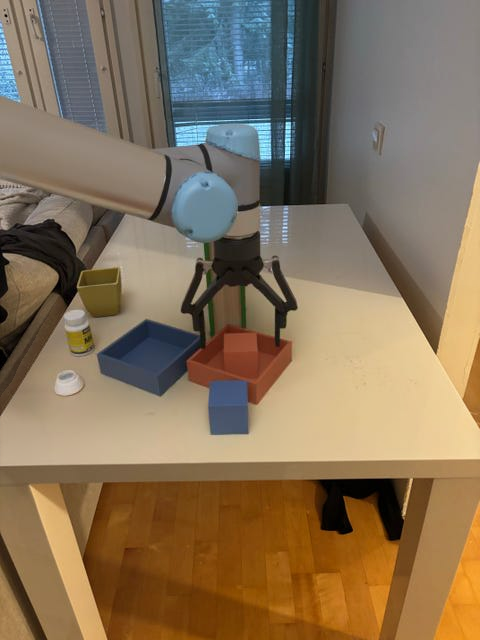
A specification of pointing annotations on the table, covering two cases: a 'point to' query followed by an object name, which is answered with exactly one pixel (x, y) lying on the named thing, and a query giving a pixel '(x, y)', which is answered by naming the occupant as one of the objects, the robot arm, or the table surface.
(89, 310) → the flower pot
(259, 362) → the rust bin
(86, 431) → the table surface
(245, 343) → the rust block
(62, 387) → the lidless jar
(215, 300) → the hardback book
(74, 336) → the supplement bottle
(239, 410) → the slate block
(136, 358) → the slate bin
